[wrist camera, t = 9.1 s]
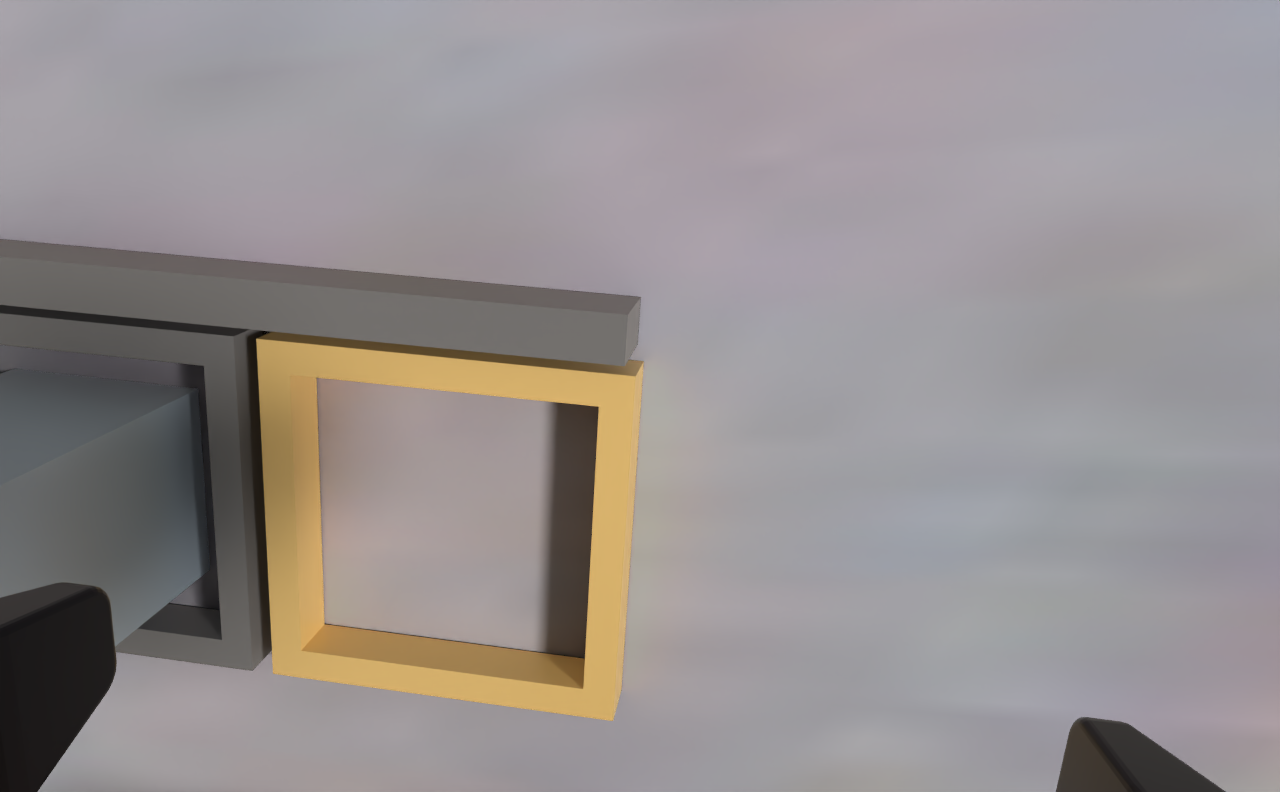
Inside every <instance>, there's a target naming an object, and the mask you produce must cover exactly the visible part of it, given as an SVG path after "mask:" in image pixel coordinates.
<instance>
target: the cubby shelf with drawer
mask: <svg viewBox="0 0 1280 792" xmlns="http://www.w3.org/2000/svg"><path fill="white" fill-rule="evenodd" d="M640 302H641V297H634V296H623V295H612V294H601V293H590V292H579V291H568V290H557V289H546V288H535V287H524V286H513V285H502V284H490V283H479V282H468V281H457V280H446V279H435V278H424V277H413V276H402V275H391V274H380V273H369V272H358V271H347V270H336V269H325V268H314V267H303V266H291V265H280V264H269V263H258V262H247V261H236V260H225V259H214V258H203V257H192V256H181V255H170V254H159V253H148V252H137V251H126V250H115V249H103V248H92V247H81V246H70V245H59V244H48V243H37V242H26V241H15V240H4V239H0V345H7V346H17V347H26V348H36V349H46V350H55V351H65V352H75V353H84V354H94V355H104V356H113V357H123V358H133V359H142V360H152V361H162V362H171V363H181V364H191V365H200V366H204V378H205V393H206V408H207V423H208V438H209V453H210V468H211V483H212V498H213V513H214V528H215V543H216V558H217V573H218V588H219V603H220V610H213V609H205V608H198V607H190V606H183V605H175V604H167V605H166V606H164V607H163V608H162V609H161V610H159V611H158V612H157V613H156V614H155V615H153V616H152V617H151V618H150V619H148V620H147V621H146V622H145V623H143V624H142V625H141V626H140V627H139V628H137V629H136V630H135V631H134V632H132V633H131V634H130V635H129V636H128V637H126V638H125V639H124V640H123V641H121V642H120V643H119V644H118V645H117V646H115V651H116V652H120V653H128V654H135V655H142V656H149V657H156V658H164V659H171V660H178V661H185V662H192V663H200V664H207V665H214V666H221V667H228V668H236V669H243V670H250V671H253V670H254V669H255V668H256V667H257V665H258V664H259V663H260V662H261V661H262V660H263V659H264V658H265V657H266V656H267V655H268V654H269V653H270V652H271V650H272V661H273V674H279V675H286V676H293V677H300V678H308V679H315V680H322V681H329V682H336V683H344V684H351V685H358V686H365V687H372V688H379V689H387V690H394V691H401V692H408V693H415V694H423V695H430V696H437V697H444V698H451V699H459V700H466V701H473V702H480V703H487V704H495V705H502V706H509V707H516V708H523V709H531V710H538V711H545V712H552V713H559V714H567V715H574V716H581V717H588V718H595V719H603V720H610V721H613V719H614V715H615V712H616V708H617V704H618V701H619V697H620V693H621V688H622V673H623V658H624V644H625V629H626V614H627V600H628V585H629V570H630V556H631V541H632V526H633V511H634V497H635V482H636V467H637V453H638V438H639V423H640V409H641V394H642V379H643V365H644V361H634V360H629V358H630V357H631V355H632V353H633V351H634V350H635V348H636V346H637V345H638V332H639V317H640ZM263 331H271V332H270V333H268V334H266V335H264V336H263ZM316 378H326V379H336V380H345V381H355V382H365V383H374V384H384V385H394V386H404V387H413V388H423V389H433V390H442V391H452V392H462V393H471V394H481V395H491V396H500V397H510V398H520V399H529V400H539V401H549V402H558V403H568V404H578V405H587V406H597V407H599V413H598V432H597V450H596V468H595V486H594V504H593V522H592V540H591V559H590V577H589V595H588V613H587V631H586V649H585V659H583V658H576V657H568V656H561V655H553V654H545V653H538V652H530V651H523V650H515V649H508V648H500V647H493V646H485V645H477V644H470V643H462V642H455V641H447V640H440V639H432V638H425V637H417V636H409V635H402V634H394V633H387V632H379V631H372V630H364V629H357V628H349V627H341V626H334V625H326V624H324V597H323V566H322V535H321V504H320V473H319V442H318V411H317V380H316Z"/></svg>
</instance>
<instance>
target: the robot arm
mask: <svg viewBox="0 0 1280 792" xmlns="http://www.w3.org/2000/svg"><path fill="white" fill-rule="evenodd" d="M115 672H116V651H115V641H114V631H113V621H112V612H111V603H110V599H109V597H108V595H107V593H106V592H105V591H104V590H103V589H101V588H100V587H96V586H91V585H83V584H76V583H68V582H60V583H55V584H51V585H47V586H43V587H39V588H35V589H31V590H28V591H24V592H20V593H16V594H12V595H8V596H4V597H1V598H0V792H38V790H39V789H40V787H41V786H42V784H43V783H44V782H45V780H46V779H47V777H48V776H49V774H50V773H51V772H52V770H53V769H54V767H55V766H56V764H57V763H58V762H59V760H60V759H61V757H62V756H63V754H64V753H65V752H66V750H67V749H68V747H69V746H70V744H71V743H72V742H73V740H74V739H75V737H76V736H77V734H78V733H79V732H80V730H81V729H82V727H83V726H84V724H85V723H86V722H87V720H88V719H89V717H90V716H91V714H92V713H93V712H94V710H95V709H96V707H97V706H98V704H99V703H100V702H101V700H102V699H103V697H104V696H105V694H106V693H107V691H108V690H109V688H110V686H111V684H112V682H113V679H114V676H115ZM1056 792H1225V791H1224V790H1222V789H1221V788H1220V787H1218V786H1217V785H1215V784H1214V783H1212V782H1211V781H1210V780H1208V779H1207V778H1205V777H1204V776H1202V775H1201V774H1200V773H1198V772H1197V771H1195V770H1194V769H1192V768H1191V767H1190V766H1188V765H1187V764H1185V763H1184V762H1182V761H1181V760H1179V759H1178V758H1177V757H1175V756H1174V755H1172V754H1171V753H1169V752H1168V751H1167V750H1165V749H1164V748H1162V747H1161V746H1159V745H1158V744H1157V743H1155V742H1154V741H1152V740H1151V739H1149V738H1148V737H1147V736H1145V735H1144V734H1142V733H1141V732H1139V731H1138V730H1137V729H1135V728H1134V727H1132V726H1131V725H1129V724H1127V723H1124V722H1120V721H1112V720H1104V719H1097V718H1089V717H1081V718H1079V719H1077V720H1076V721H1075V722H1074V723H1073V725H1072V727H1071V729H1070V732H1069V736H1068V740H1067V744H1066V749H1065V753H1064V758H1063V762H1062V767H1061V771H1060V776H1059V780H1058V785H1057V789H1056Z"/></svg>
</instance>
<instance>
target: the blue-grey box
mask: <svg viewBox="0 0 1280 792" xmlns="http://www.w3.org/2000/svg"><path fill="white" fill-rule="evenodd" d="M208 570H210V562H209V547H208V531H207V516H206V501H205V486H204V470H203V455H202V440H201V425H200V409H199V394H198V389H195V388H186V387H177V386H168V385H159V384H150V383H141V382H132V381H123V380H113V379H104V378H95V377H86V376H77V375H68V374H59V373H50V372H40V371H31V370H22V369H12V370H9V371H6V372H3V373H0V598H1V597H4V596H8V595H12V594H16V593H20V592H24V591H28V590H31V589H35V588H39V587H43V586H47V585H51V584H55V583H60V582H68V583H76V584H83V585H91V586H96V587H100V588H101V589H103V590H104V591H105V592H106V593H107V595H108V597H109V599H110V603H111V612H112V621H113V631H114V641H115V646H117V645H118V644H119V643H120V642H121V641H123V640H124V639H125V638H126V637H128V636H129V635H130V634H131V633H132V632H134V631H135V630H136V629H137V628H139V627H140V626H141V625H142V624H143V623H145V622H146V621H147V620H148V619H150V618H151V617H152V616H153V615H155V614H156V613H157V612H158V611H159V610H161V609H162V608H163V607H164V606H166V605H167V604H168V603H169V602H170V601H172V600H173V599H174V598H175V597H177V596H178V595H179V594H180V593H182V592H183V591H184V590H185V589H186V588H188V587H189V586H190V585H191V584H193V583H194V582H195V581H196V580H197V579H199V578H200V577H201V576H202V575H204V574H205V573H206V572H207V571H208Z"/></svg>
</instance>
